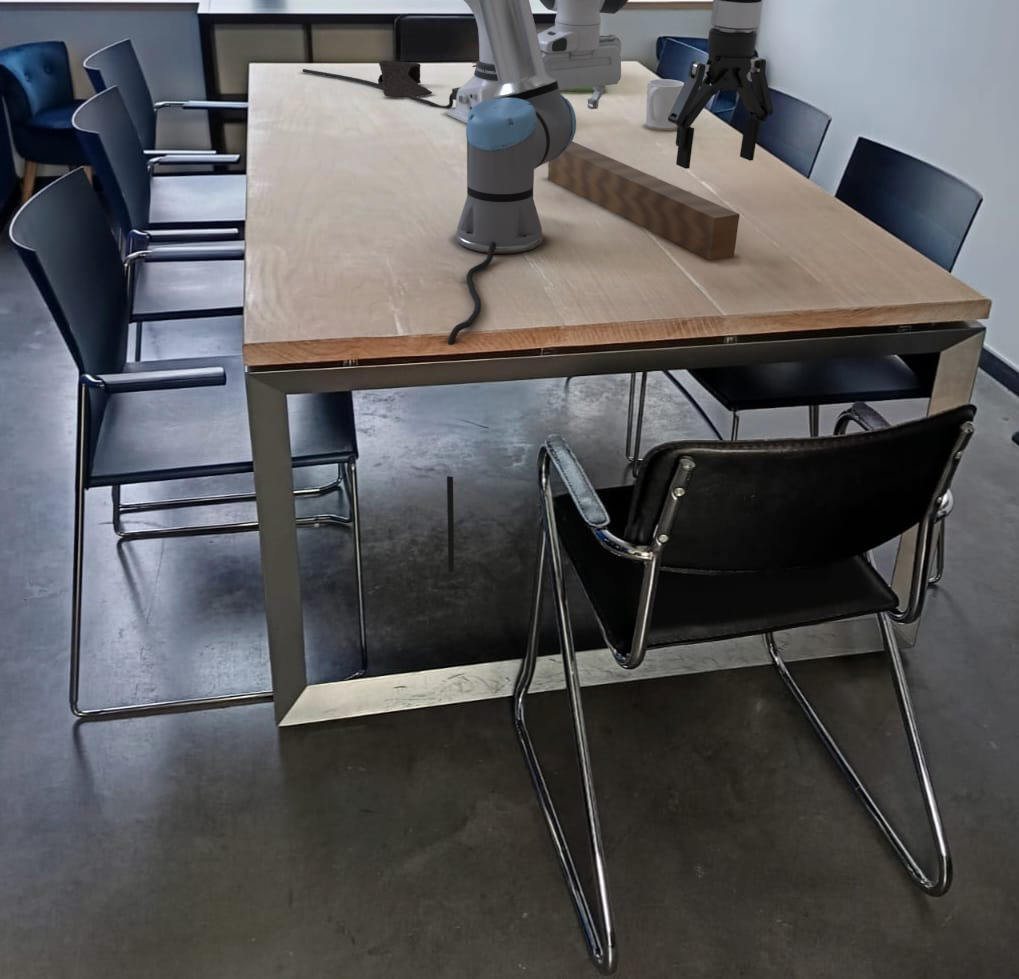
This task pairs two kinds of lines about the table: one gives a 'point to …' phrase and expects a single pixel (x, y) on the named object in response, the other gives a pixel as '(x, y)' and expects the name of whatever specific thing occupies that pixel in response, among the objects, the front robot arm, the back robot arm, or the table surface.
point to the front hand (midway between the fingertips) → (715, 162)
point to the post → (647, 201)
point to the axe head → (401, 79)
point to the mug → (661, 102)
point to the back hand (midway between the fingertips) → (572, 110)
